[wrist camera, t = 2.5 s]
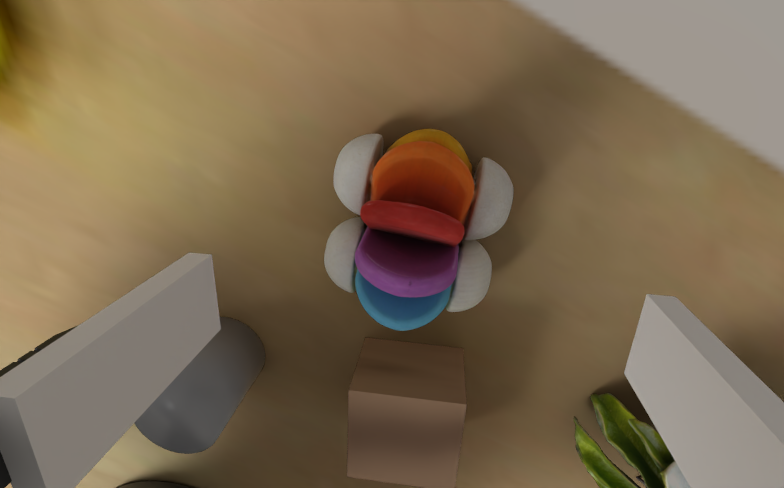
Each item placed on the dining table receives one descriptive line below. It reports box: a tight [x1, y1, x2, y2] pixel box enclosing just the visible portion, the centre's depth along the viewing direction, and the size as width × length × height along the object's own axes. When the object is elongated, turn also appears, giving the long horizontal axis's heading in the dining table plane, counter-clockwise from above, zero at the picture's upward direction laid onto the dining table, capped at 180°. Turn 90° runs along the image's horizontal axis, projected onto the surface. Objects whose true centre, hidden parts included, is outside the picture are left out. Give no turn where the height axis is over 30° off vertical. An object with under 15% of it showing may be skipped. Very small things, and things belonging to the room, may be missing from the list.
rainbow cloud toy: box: [324, 129, 514, 331], centre depth 20 cm, size 8×10×7 cm
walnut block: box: [347, 337, 467, 488], centre depth 25 cm, size 6×6×5 cm
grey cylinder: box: [135, 317, 265, 454], centre depth 25 cm, size 5×5×6 cm
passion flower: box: [574, 393, 691, 488], centre depth 23 cm, size 11×11×12 cm
